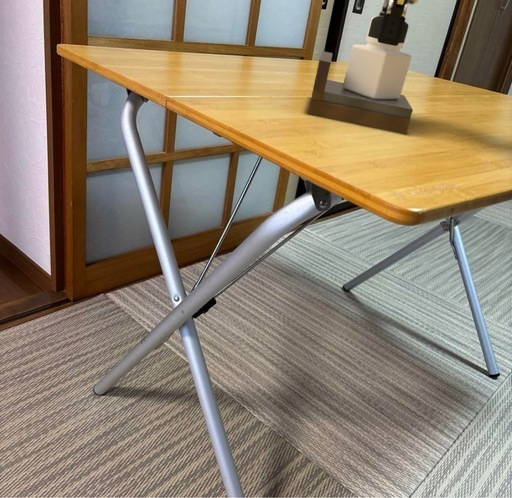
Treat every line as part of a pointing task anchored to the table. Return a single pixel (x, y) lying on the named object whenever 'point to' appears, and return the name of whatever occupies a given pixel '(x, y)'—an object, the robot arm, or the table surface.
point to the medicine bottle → (377, 66)
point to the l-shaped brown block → (356, 104)
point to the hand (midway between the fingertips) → (385, 41)
